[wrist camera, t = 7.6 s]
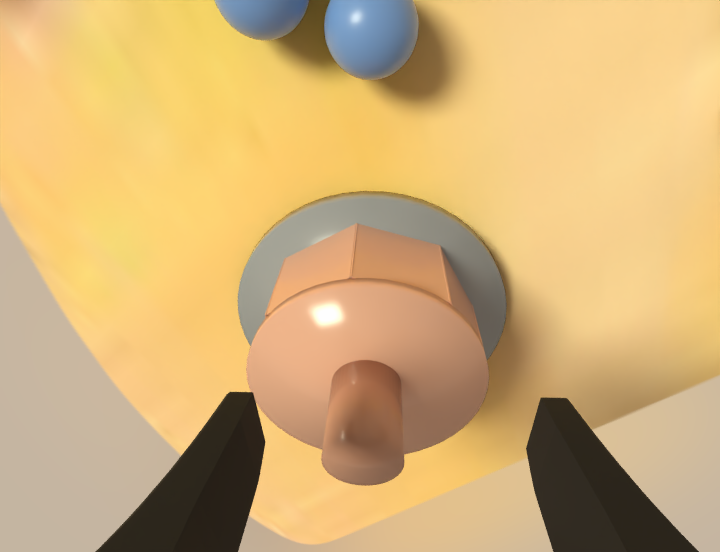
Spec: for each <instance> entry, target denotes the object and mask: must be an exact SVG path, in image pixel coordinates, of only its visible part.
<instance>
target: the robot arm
mask: <svg viewBox="0 0 720 552" xmlns="http://www.w3.org/2000/svg"><path fill="white" fill-rule="evenodd" d="M264 447H265V439H264V435H263V430H262V426H261V422H260V418H259V414H258V410H257V406H256V402H255V398H254V394H253V392H229V393H228V394H227V395H226V396H225V398H224V399H223V401H222V402H221V403H220V405H219V406H218V408H217V409H216V411H215V412H214V413H213V415H212V416H211V417H210V419H209V420H208V422H207V423H206V424H205V426H204V427H203V428H202V430H201V431H200V432H199V434H198V435H197V436H196V438H195V439H194V440H193V442H192V443H191V444H190V446H189V447H188V448H187V449H186V451H185V452H184V453H183V454H182V456H181V457H180V458H179V460H178V461H177V462H176V463H175V465H174V466H173V467H172V468H171V470H170V471H169V472H168V473H167V474H166V476H165V477H164V478H163V479H162V480H161V482H160V483H159V484H158V485H157V486H156V487H155V488H154V490H153V491H152V492H151V493H150V494H149V495H148V497H147V498H146V499H145V500H144V501H143V502H142V504H141V505H140V506H139V507H138V508H137V509H136V510H135V511H134V512H133V514H132V515H131V516H130V517H129V518H128V519H127V520H126V521H125V522H124V523H123V524H122V525H121V526H120V527H119V529H118V530H117V531H116V532H115V533H114V534H113V535H112V536H111V537H110V538H109V539H108V540H107V541H106V542H105V543H104V544H103V545H102V546H101V547H100V548H99V549H98V550H97V551H96V552H238V550H239V546H240V543H241V539H242V536H243V533H244V529H245V526H246V522H247V519H248V516H249V512H250V509H251V506H252V502H253V499H254V495H255V492H256V488H257V485H258V481H259V475H260V470H261V465H262V459H263V453H264ZM526 450H527V455H528V461H529V466H530V472H531V476H532V481H533V486H534V491H535V494H536V497H537V501H538V504H539V507H540V510H541V514H542V517H543V520H544V523H545V526H546V529H547V533H548V536H549V539H550V542H551V545H552V549H553V551H554V552H699V551H698V550H697V549H696V548H695V547H694V546H692V544H691V543H690V542H689V541H688V540H687V539H686V538H685V537H684V536H683V535H682V534H681V533H680V532H679V531H678V530H677V529H676V528H675V527H674V526H673V525H672V523H671V522H670V521H669V520H668V519H667V518H666V517H665V516H664V515H663V514H662V513H661V512H660V510H659V509H658V508H657V507H656V506H655V505H654V504H653V503H652V502H651V501H650V499H649V498H648V497H647V496H646V495H645V494H644V493H643V492H642V490H641V489H640V488H639V487H638V486H637V485H636V483H635V482H634V481H633V480H632V479H631V478H630V476H629V475H628V474H627V473H626V472H625V470H624V469H623V468H622V467H621V466H620V465H619V463H618V462H617V461H616V460H615V459H614V457H613V456H612V455H611V454H610V453H609V451H608V450H607V449H606V448H605V446H604V445H603V444H602V442H601V441H600V440H599V439H598V438H597V436H596V435H595V434H594V432H593V431H592V430H591V429H590V427H589V426H588V425H587V423H586V422H585V421H584V419H583V418H582V417H581V416H580V414H579V413H578V412H577V410H576V409H575V408H574V406H573V405H572V404H571V403H570V401H569V400H568V399H567V398H541V399H540V402H539V406H538V409H537V413H536V416H535V420H534V423H533V427H532V430H531V434H530V437H529V441H528V444H527V448H526Z"/></svg>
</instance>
